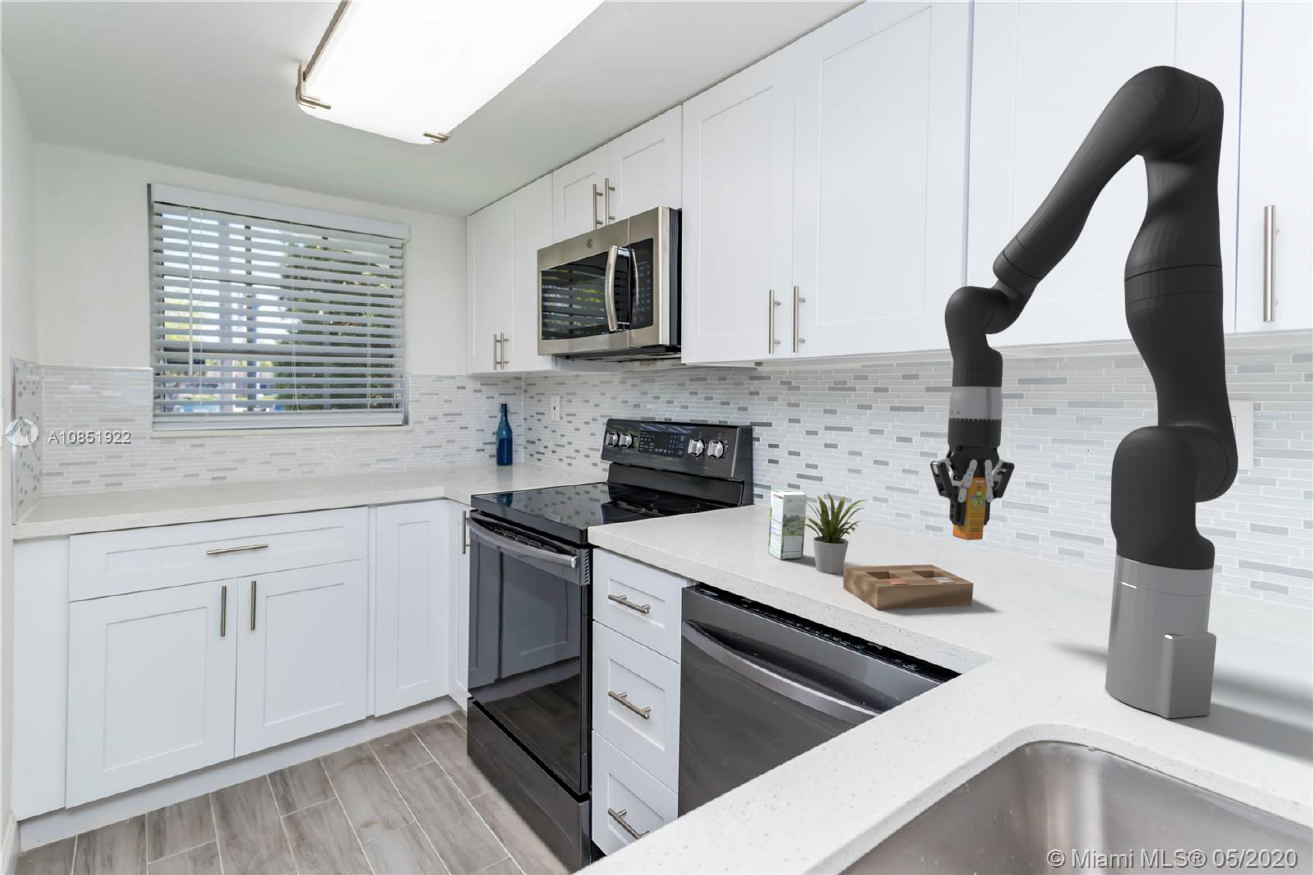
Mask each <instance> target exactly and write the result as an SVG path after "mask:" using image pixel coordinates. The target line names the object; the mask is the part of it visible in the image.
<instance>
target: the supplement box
mask: <svg viewBox="0 0 1313 875" xmlns="http://www.w3.org/2000/svg"><path fill="white" fill-rule="evenodd" d="M957 480H958V481H959V482H961V481H962V480H960V479H958V478H957ZM986 493H987V488H986V480H985V478H983V477H973V478H972V482H971V486H970V488H969V489H967V493H966V497H965V500H964V503H965V520H964V525H963V526H957V525H954V524H952V525H953V526H952V536H953V537H955V538H958V539H961V540H965V541H976V540H979V541H980V540H983V536H984V516H985V504H986Z"/></svg>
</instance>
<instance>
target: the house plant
mask: <svg viewBox="0 0 1313 875" xmlns="http://www.w3.org/2000/svg"><path fill="white" fill-rule="evenodd" d="M826 493H827V496H828V497H829V502H830V514H829V509H828V508H829V507H828V506H827V503H826V502H825V501H824V500H823V499H822V497H820V496H818V495H817V499H818V502H819V506H820V510H819V509H818V508H817V506H816V505H815V509H816V511H817V512H816V511H815V509H813V507H812V506H811V505H810V504H809V503H808V502H807V501H806V502H805V501H804V502H805V503H806V505H808V506H809V507H810V509H812V511H813V512H814V514H815V515H816V517H817V518H818V520H819V522H820V523H818V522H817V521H815V520H814V519H813V518H811V517H809V516H805V519H807V520H808V521H809V522H810V523H811V524H812V525H813V526H812V525H811V524H808V523H805V524H803V525H805V527H808V528H810V529H812V530H813V531H814V532H815V533H816V534H817V535H818V536H814V537H813V538H812V543H813V544H812V545H813V552H814V553H813V554H814V559H815V560H814V561H815V569H816V570H817V571H818V572H821V573H825V574H840V573H842V572H843V571H844V565H845V560H846V555H847V552H848V546H849V540H848V539H846V538H843V537H844V535H845V534H847V535H850V537H852V535H851V533H850V532H849V530H852V532H855V530H856V528H855V527H854V526H856V527H857V528H859V527H858V525H857V524H858V523H859V522H860V523H861V520H857V521H855V522H853V523H852V522H849V520H850V519H851V518H852V516H853V515H854V514H856V512H858V511H860V510H861V509H863V507H865V505H863V504H859V503H861V502H865V501H867V499H860V500H859V499H858V500H857V501H854V502H853V503H851V504H850V505H849V506H848V507H847V508H846V509H845V511H844V512H843V509H844V506H845V499H846V497H845V496H843V497H842V498H841V499H839V502H838V504H837V507H835V502H834V499H833V498H832V496H831V494H830V493H829V492H828V491H826ZM800 500H801V499H800ZM802 501H803V500H802ZM856 507H859V508H856ZM853 508H856V509H855V510H853V511H852V512H851V513H850V511H851V510H852V509H853ZM842 512H843V514H842ZM849 513H850V514H849ZM841 514H842V515H841ZM848 514H849V516H848V517H847V519H846V520H845V521H844V522H843V520H844V519H845V517H846V516H847V515H848ZM842 522H843V523H842ZM847 525H849V526H847ZM814 526H815V527H816V528H815V527H814ZM846 526H847V527H846ZM819 533H820V534H821V536H820V534H819Z"/></svg>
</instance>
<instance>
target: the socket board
mask: <svg viewBox="0 0 1313 875" xmlns="http://www.w3.org/2000/svg"><path fill="white" fill-rule="evenodd" d="M842 582H843V584H842V585H843V586H842V588H843V589H845V590H846V591H847V592H848V593H850V594H851V595H853V596H855V597H857V598H858V599H860V600H861V601H862V602H864V603H865V604H868V605H869V606H870V607H872V608H873V609H875V610H877V611H878V610H901V609H902V610H904V609H927V608H928V609H929V608H930V609H931V608H951V607H953V608H955V607H954V606H956V607H973V595H974V594H973V593H974V582H971V581H969V580H967V579H965V578H963V577H960V576H958V575H957V574H953V573H952V572H949V571H946V570H945V569H942V568H940V567H938V566H936V565H933V564H903V565H900V564H899V565H898V564H897V565H863V566H862V565H861V566H857V565H856V566H855V565H854V566H843V581H842Z"/></svg>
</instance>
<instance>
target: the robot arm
mask: <svg viewBox="0 0 1313 875" xmlns="http://www.w3.org/2000/svg"><path fill="white" fill-rule="evenodd" d="M1224 117H1225V104H1224V99H1223V97H1222V93H1221V91H1220V89H1218V87H1217V86H1216V85H1215V84H1214V83H1213V82H1211V81H1210V80H1208V79H1206V78H1203V77H1201V76H1199V75H1196V74H1193V73H1191V72H1188V71H1185V70H1184V69H1180V68H1178V67H1174V66H1172V65H1171V66H1170V65H1156V66H1151V67H1148V68H1146V69H1143V70H1142V71H1140V72H1138V73H1135V75H1133V76H1132V77H1130V79H1128V80H1127V81H1126V82H1124V84H1123V85H1122V86H1121V87H1120V88H1119V89H1117V92H1115V94H1114V95H1113V96H1112V97H1111V99H1110V100H1109V101H1108V103H1107V104H1106V106H1105V107H1104V109H1103V110H1102V111H1101V113H1100V114H1099V116H1098V117H1097V119H1096V120H1095V122H1094V123H1093V126H1092V127H1091V129H1090V130H1089V131H1088V133H1087V135H1086V136H1085V138H1084V139H1083V140H1082V143H1081V144H1080V146H1079V147H1078V149H1077V150H1076V152H1075V153H1074V155H1072V158H1071V159H1070V161H1069V162H1068V164H1067V166H1066V167H1065V169H1064V170H1063V171H1062V173H1061V174H1060V176H1059V177H1058V179H1057V181H1056V182H1055V184H1054V185H1053V186H1052V188H1051V190H1049V191H1050V192H1049V193H1048V194H1047V196H1046V197H1045V198H1044V200H1043V201H1042V202H1041V204H1040V205H1039V206H1038V208H1037V209H1036V210H1035V212H1034V213H1033V214H1032V215H1031V216H1030V218H1029V219H1028V220H1027V221H1026V223H1025V224H1024V225H1023V226H1022V227H1021V228H1020V230H1018V232H1017V233H1016V234H1015V235H1014V236H1013V237H1012V238H1011V240H1010V241H1009V242H1008V243H1007V244H1006V246H1004V248H1003V249H1002V250H1001V251H1000V253H999V254H997V256H996V258H995V260H994V261H993V264H992V272H993V274H994V276H995V278H996V279H997V281H996V282H995V283H994V284H993V286H992V287H990V288H989V287H983V286H976V285H965V286H962V287H960V288H957V289H956V290H955V291H954V292H953V293H952V294H951V295H950V297H949V298H948V301H947V303H946V305H945V310H944V326H945V330H946V332H945V333H946V335H947V340H948V346H949V349H950V353H951V356H952V361H953V363H952V364H953V365H952V376H951V377H952V381H951V391H950V398H949V406H948V424H947V425H948V426H947V444H948V451H947V453H946V456H945V458H943V459H940V460H932V461H930V463H929V467H930V469H931V473H932V476H933V480H934V482H935V486H936V488H937V490H936V491H937V493H938V495H939V496H940V497H943V498H946V499H948V500H949V516H948V517H949V521H950V522H951V524H952V525H953V524H954V525H957V526H963V525H964V520H965V503H964V500H965V497H966V493H967V489H969V488H970V486H971V482H972V478H973V477H983V478H985V480H986V488H987V493H986V504H985V516H984V526H987V525H988V522H989V521H990V519H991V518H990V517H991V503H992V502H993V500H996V499H1002V498H1003V497H1004V494H1005V492H1006V490H1007V487H1008V486H1009V485H1008V484H1009V482H1010V481H1011V480H1010V479H1011V477H1012V474H1013V472H1014V470H1015V464H1014V463H1013V462H1010V461H1009V462H1008V461H1005V460H1003V459H1000V455H999V452H998V448H999V447H1000V446H1001V445H1002V444H1001V443H1002V442H1001V441H1002V440H1001V439H1002V425H1003V424H1002V423H1003V422H1002V420H1003V409H1004V408H1003V404H1004V403H1003V388H1002V387H1003V374H1004V373H1003V372H1004V369H1003V368H1004V364H1003V363H1004V360H1003V355H1002V354H1001V352H999V351H998V350H996V349H994V348H992V347H991V346H990V345H989V343H988V338H987V335H996V334H999V333H1002V332H1004V331H1006V330H1007V329H1008V328H1010V327H1011V326H1012V325H1013V324H1014V323H1015V322H1016V321H1017V320H1018V318H1019V317H1020V315H1021V314H1022V312H1023V311H1024V309H1025V308H1026V307H1027V304H1028V302H1029V301H1030V299H1031V298H1032V296H1033V294H1034V292H1035V291H1036V289H1037V286H1038V284H1039V283H1041V282H1043V280H1044V279H1045V278H1046V277H1047V276H1048V274H1050V273H1051V271H1052V270H1053V269H1055V267H1057V265H1058V264H1059V263H1061V261H1062V260H1063V259H1064V258H1065V257H1066V255H1068V253H1070V251H1071V250H1072V249H1073V247H1074V246H1075V244H1076V243H1077V242H1078V240H1079V238H1080V236H1081V234H1082V232H1083V230H1084V227H1085V225H1086V222H1087V220H1088V218H1089V215H1090V213H1091V210H1092V209H1093V206H1094V205H1095V202H1096V201H1097V199H1098V197H1099V196H1100V193H1102V191H1103V190H1104V188H1106V186H1107V184H1108V183H1109V182H1110V181H1111V180H1112V179H1113V177H1114V176H1115V175H1117V173H1118V172H1119V171H1121V169H1122V168H1124V167H1125V165H1128V164H1127V163H1129V162H1131V160H1132V159H1134V158H1135V157H1136V156H1140V157H1142V159H1143V162H1144V166H1145V175H1146V184H1147V185H1146V187H1147V188H1146V189H1147V205H1146V210H1145V214H1144V218H1143V220H1142V223H1141V225H1140V227H1139V230H1138V232H1137V234H1136V236H1135V239H1134V241H1133V242H1132V245H1131V247H1130V250H1129V251H1128V255H1127V258H1126V261H1125V265H1124V271H1123V272H1124V274H1123V275H1124V276H1123V286H1124V311H1125V312H1124V313H1125V314H1124V315H1125V320H1126V324H1127V327H1128V331H1129V333H1130V336H1131V338H1132V340H1133V342H1134V344H1135V347H1136V348H1137V350H1138V352H1139V355H1141V357H1142V360H1143V362H1144V364H1145V365H1146V367H1147V369H1148V371H1149V374H1150V376H1151V378H1152V381H1153V384H1154V388H1155V392H1156V393H1155V394H1156V400H1157V401H1156V402H1157V425H1148V426H1143V427H1139V428H1135V429H1134V430H1132V431H1130V432H1129V433H1127V434H1126V435H1125V436H1124V437H1123V438H1122V439H1121V441H1120V442H1119V444H1118V445H1117V448H1116V449H1115V453H1114V456H1113V460H1112V464H1111V465H1112V466H1111V475H1110V476H1111V477H1110V478H1111V479H1110V516H1109V517H1110V518H1109V519H1110V527H1111V530H1112V532H1113V535H1114V539H1115V541H1116V547H1115V548H1116V551H1115V558H1114V559H1115V561H1114V562H1115V563H1114V572H1113V583H1112V592H1111V593H1112V596H1111V607H1110V608H1111V609H1110V618H1109V619H1110V621H1109V631H1108V642H1107V643H1108V644H1107V655H1106V656H1107V658H1106V670H1105V685H1104V689H1105V690H1106V692H1107V693H1108V694H1109V695H1110V696H1112V697H1114V698H1115V699H1117V700H1118V701H1121V702H1123V704H1127V705H1129V706H1131V707H1134V708H1136V709H1137V708H1138V709H1140V710H1143V711H1147V712H1150V713H1154V714H1156V715H1159V716H1161V717H1163V718H1165V719H1174V718H1175V719H1177V718H1188V717H1198V716H1209V715H1210V712H1211V703H1212V702H1211V700H1212V690H1213V680H1214V671H1215V662H1216V661H1215V660H1216V648H1217V636H1216V634H1214V633H1212V632H1210V631H1209V630H1208V629H1209V620H1210V619H1209V618H1210V610H1211V609H1210V608H1211V600H1212V599H1211V598H1212V588H1213V587H1212V586H1213V579H1214V578H1213V577H1214V576H1213V575H1214V568H1215V567H1214V566H1215V560H1216V559H1215V557H1216V548H1215V547H1216V546H1215V545H1214V543H1213V542H1212V541H1211V540H1210V539H1209V538H1206V537H1205V536H1203V535H1201V534H1200V531H1199V530H1198V528H1197V524H1196V523H1197V522H1196V520H1197V519H1196V518H1197V517H1196V515H1197V503H1206V502H1210V501H1213V500H1216V499H1218V498H1220V497H1222V496H1223V495H1224V494H1226V492H1227V491H1229V490H1230V488H1231V487H1232V485H1233V484H1234V482H1235V479H1236V477H1237V474H1238V469H1239V454H1238V447H1237V441H1236V440H1237V439H1236V434H1235V429H1234V428H1235V427H1234V425H1233V424H1234V422H1233V418H1232V412H1231V407H1230V401H1229V395H1228V388H1227V379H1226V378H1227V377H1226V350H1225V348H1226V347H1225V333H1224V330H1225V329H1224V276H1223V274H1224V273H1223V260H1222V251H1221V248H1222V247H1221V229H1220V228H1221V227H1220V226H1221V225H1220V224H1221V223H1220V222H1221V220H1220V218H1221V217H1220V207H1219V206H1220V205H1219V175H1220V174H1219V171H1220V162H1221V160H1220V159H1221V150H1222V143H1223V142H1222V141H1223V133H1224V130H1223V129H1224V120H1225V119H1224ZM951 471H952V472H951ZM993 471H994V472H993ZM950 472H951V475H950ZM957 478H958V479H960V480H962V481H961V482H959V481H958V480H957Z"/></svg>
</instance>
